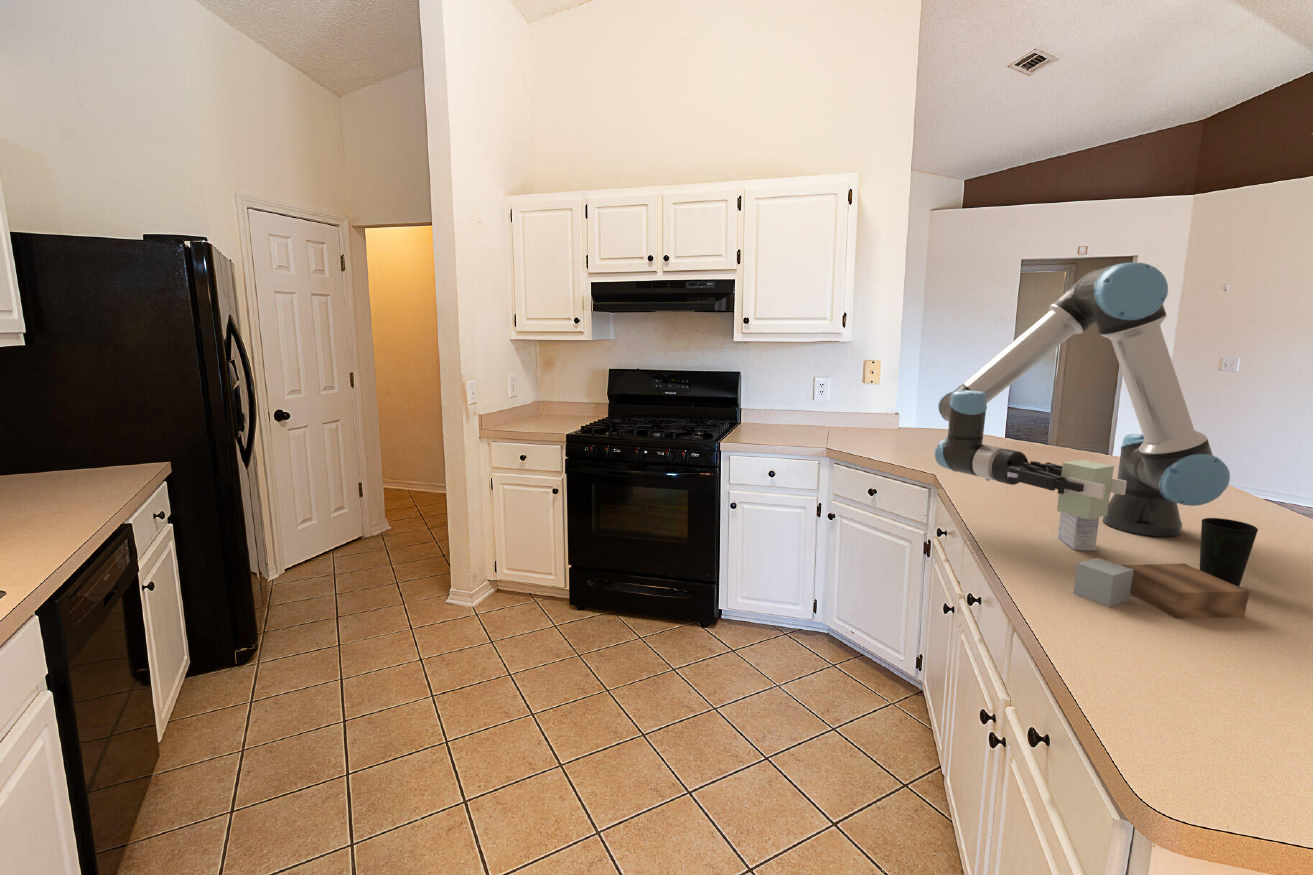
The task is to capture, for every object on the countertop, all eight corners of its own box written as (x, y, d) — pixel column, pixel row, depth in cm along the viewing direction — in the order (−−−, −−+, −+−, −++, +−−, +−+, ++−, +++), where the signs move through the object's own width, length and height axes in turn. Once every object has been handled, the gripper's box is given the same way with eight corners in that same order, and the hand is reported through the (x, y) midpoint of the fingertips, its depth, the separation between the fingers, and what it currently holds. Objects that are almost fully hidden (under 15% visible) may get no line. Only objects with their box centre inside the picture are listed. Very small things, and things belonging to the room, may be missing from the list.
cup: (1232, 579, 117) (1243, 520, 115) (1255, 595, 110) (1268, 532, 108) (1183, 573, 119) (1193, 516, 117) (1203, 589, 112) (1214, 528, 110)
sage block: (1075, 507, 124) (1081, 459, 122) (1107, 515, 118) (1114, 465, 116) (1056, 510, 121) (1062, 462, 119) (1088, 519, 116) (1095, 468, 114)
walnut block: (1179, 588, 114) (1184, 563, 113) (1244, 618, 102) (1249, 591, 101) (1119, 589, 113) (1122, 564, 112) (1176, 620, 101) (1181, 592, 100)
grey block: (1093, 588, 113) (1097, 557, 112) (1128, 601, 108) (1133, 569, 107) (1073, 593, 111) (1077, 563, 110) (1108, 607, 105) (1113, 575, 104)
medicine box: (1095, 551, 131) (1100, 513, 130) (1072, 550, 132) (1077, 512, 130) (1078, 539, 139) (1083, 503, 137) (1056, 538, 140) (1061, 502, 138)
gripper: (1027, 476, 139) (1140, 502, 118) (970, 485, 131) (1080, 515, 111) (1030, 445, 138) (1146, 465, 117) (973, 452, 130) (1085, 475, 109)
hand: (1114, 489), depth 114 cm, fingers closed on sage block, 6 cm apart
